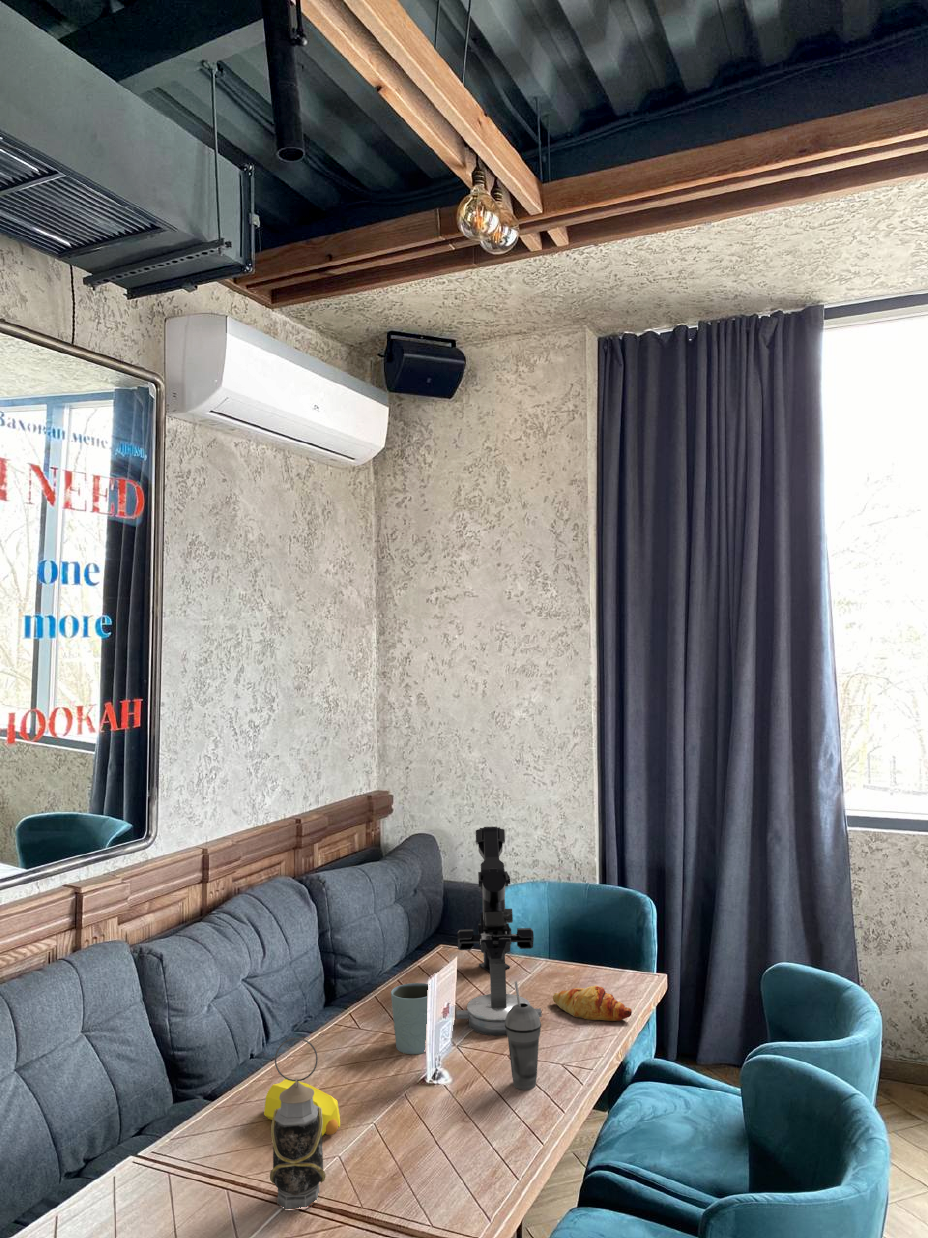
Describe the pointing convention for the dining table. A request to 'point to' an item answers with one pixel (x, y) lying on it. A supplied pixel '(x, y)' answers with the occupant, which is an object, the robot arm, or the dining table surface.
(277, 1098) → the yellow rounded lump
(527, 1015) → the beverage cup
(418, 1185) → the dining table surface
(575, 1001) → the croissant
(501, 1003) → the disc with square post
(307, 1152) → the lantern
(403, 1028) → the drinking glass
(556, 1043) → the dining table surface
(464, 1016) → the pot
